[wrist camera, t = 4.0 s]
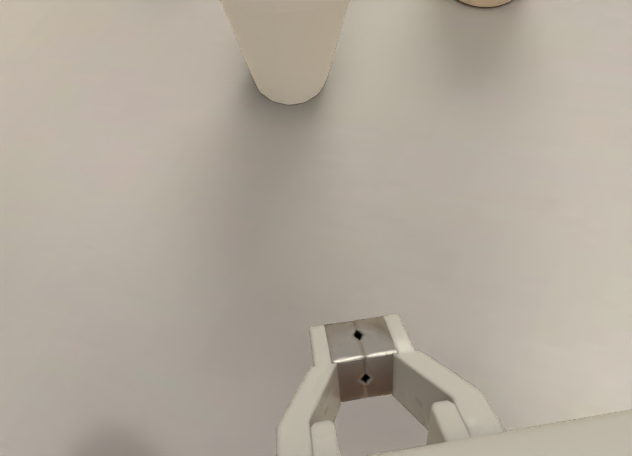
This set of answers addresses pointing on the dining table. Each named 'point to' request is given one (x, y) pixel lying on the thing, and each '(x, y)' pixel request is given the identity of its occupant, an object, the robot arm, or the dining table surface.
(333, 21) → the foam cup
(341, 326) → the robot arm
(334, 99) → the dining table surface
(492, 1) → the teacup with lid
